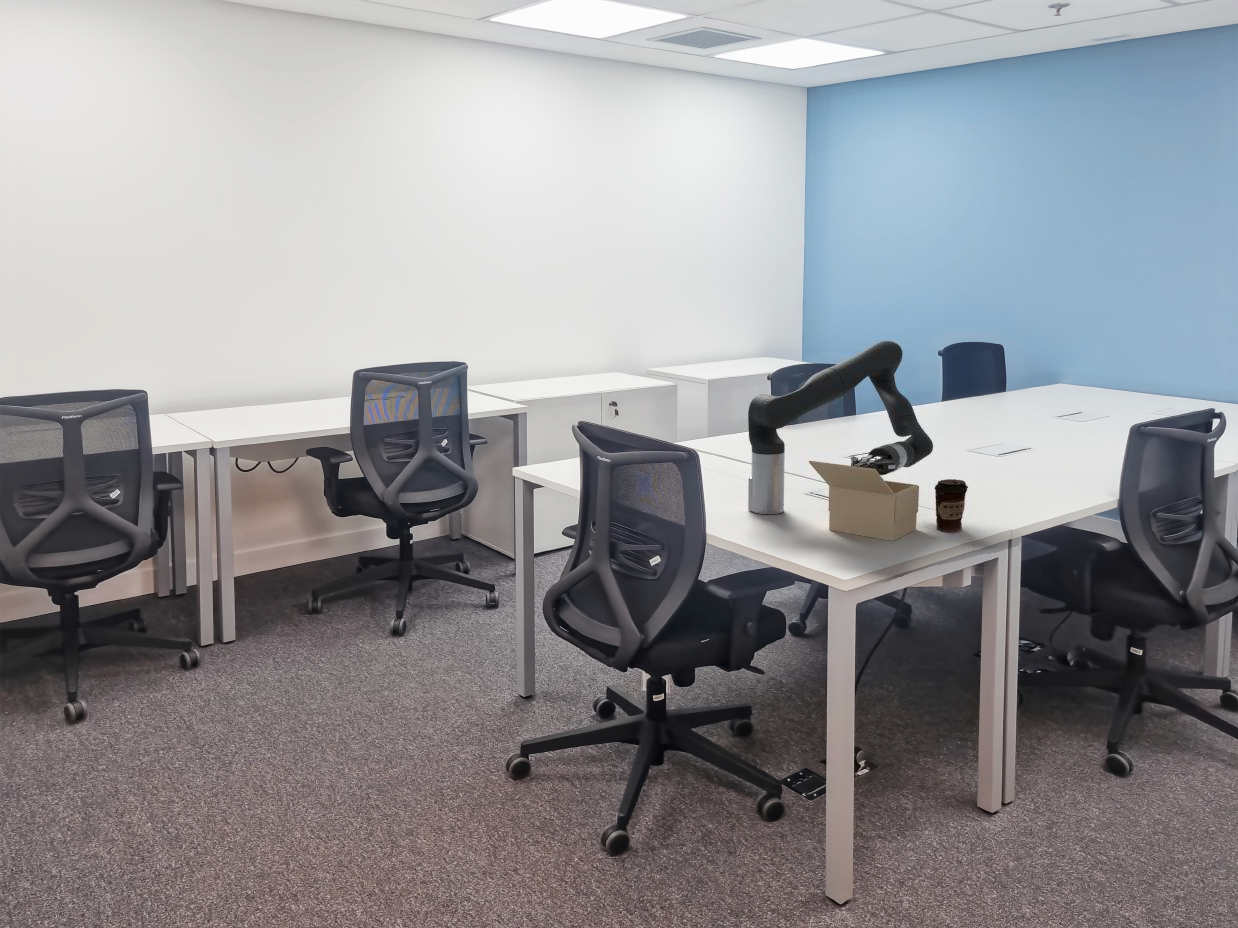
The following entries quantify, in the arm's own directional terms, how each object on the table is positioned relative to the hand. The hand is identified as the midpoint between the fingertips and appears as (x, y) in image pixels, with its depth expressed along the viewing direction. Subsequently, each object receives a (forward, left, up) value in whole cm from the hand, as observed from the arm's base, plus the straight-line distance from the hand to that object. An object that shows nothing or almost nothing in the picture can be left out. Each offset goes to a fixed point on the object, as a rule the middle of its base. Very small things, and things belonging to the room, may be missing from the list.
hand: (856, 469), depth 255 cm
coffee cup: (+16, +22, -18) cm, 33 cm away
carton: (0, +10, -18) cm, 21 cm away
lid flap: (0, -3, -1) cm, 3 cm away
